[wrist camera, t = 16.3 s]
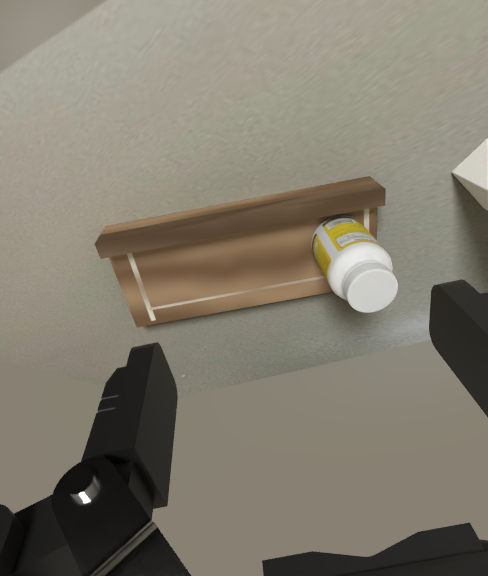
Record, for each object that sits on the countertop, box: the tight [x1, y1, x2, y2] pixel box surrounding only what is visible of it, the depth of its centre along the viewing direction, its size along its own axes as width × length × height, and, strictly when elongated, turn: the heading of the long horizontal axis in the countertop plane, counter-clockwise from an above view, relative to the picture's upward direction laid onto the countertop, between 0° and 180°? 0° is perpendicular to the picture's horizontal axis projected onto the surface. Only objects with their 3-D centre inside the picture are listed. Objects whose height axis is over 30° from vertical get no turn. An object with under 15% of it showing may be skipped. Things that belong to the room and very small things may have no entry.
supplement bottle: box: [311, 215, 398, 313], centre depth 34 cm, size 5×5×10 cm
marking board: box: [95, 176, 385, 327], centre depth 39 cm, size 11×26×4 cm, turn 100°
